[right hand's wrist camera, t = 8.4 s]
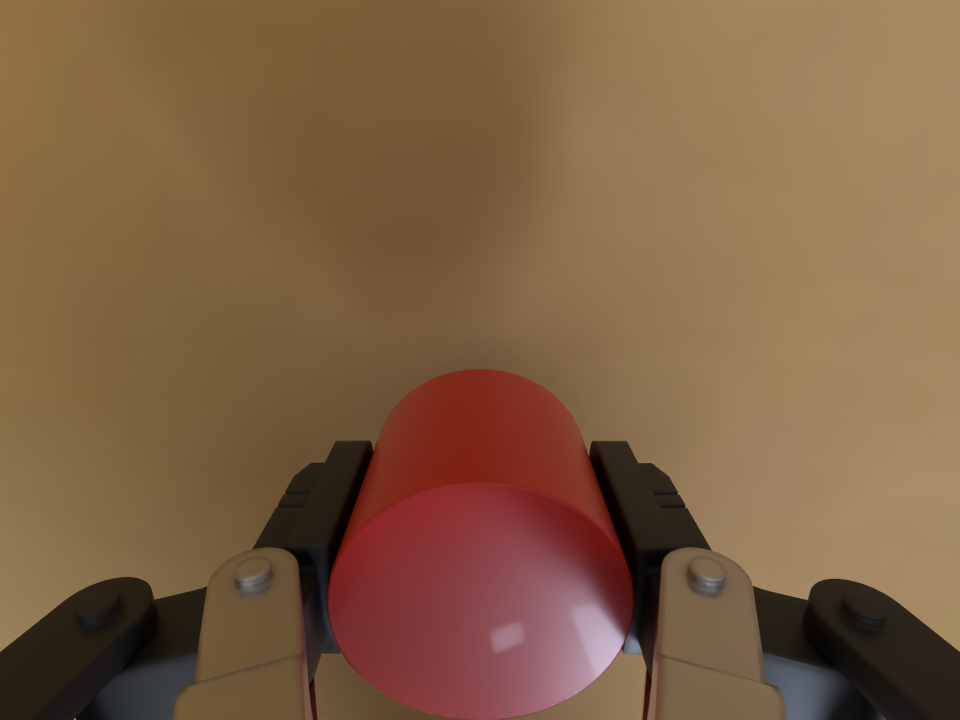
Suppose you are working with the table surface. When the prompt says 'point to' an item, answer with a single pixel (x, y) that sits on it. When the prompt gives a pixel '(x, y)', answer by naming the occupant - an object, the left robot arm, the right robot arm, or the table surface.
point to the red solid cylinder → (480, 555)
